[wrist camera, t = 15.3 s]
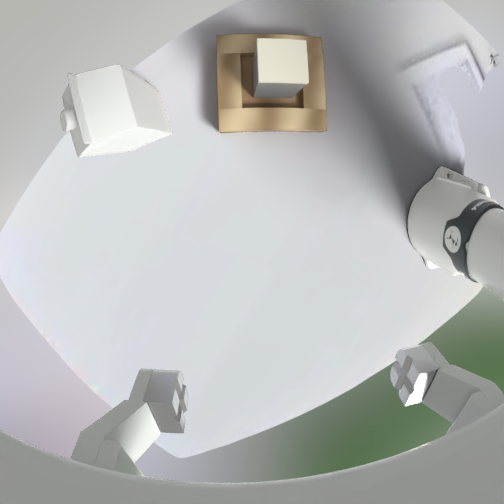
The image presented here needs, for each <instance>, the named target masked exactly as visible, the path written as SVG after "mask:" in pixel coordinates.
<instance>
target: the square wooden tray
mask: <svg viewBox="0 0 504 504" xmlns="http://www.w3.org/2000/svg"><path fill="white" fill-rule="evenodd" d="M257 38H271V39H294V40H306V45H307V58H308V74H309V83H308V84H307V85H306V86H305V87H303V88H302V89H301V90H300V91H299V92H298V93H297V94H295V95H294V96H293V97H292V98H253V73H252V63H253V57H254V52H255V47H256V41H257ZM217 82H218V115H219V132H220V133H230V132H257V131H300V132H324V131H327V123H326V96H325V78H324V64H323V51H322V40H321V38H320V37H310V36H299V35H282V34H232V35H217Z"/></svg>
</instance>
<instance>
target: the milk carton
mask: <svg viewBox="0 0 504 504" xmlns="http://www.w3.org/2000/svg"><path fill="white" fill-rule="evenodd" d="M68 80H69V85H68V87H67V89H66V91H65V92H64V94H63V97H62V98H63V103H64V107H65V110H63V111H62V112H61V116H60V121H61V126H62V129H63V131H64V132H67V131H70V132H71V136H72V139H73V143H74V146H75V150H76V153H77V156H78V158H79V157H86V156H94V155H103V154H113V153H124V152H130V151H133V150H135V149H137V148H139V147H142V146H144V145H146V144H149V143H151V142H153V141H156V140H158V139H161V138H163V137H166V136H168V135H171V134H172V129H171V126H170V123H169V120H168V116H167V113H166V110H165V107H164V104H163V100H162V97H161V94H160V91H159V90H158V89H156V88H155V87H153V86H152V85H150V84H149V83H147V82H146V81H144V80H143V79H141V78H140V77H138V76H137V75H135V74H134V73H132V72H131V71H129V70H127V69H126V68H124V67H123V66H121V65H120V64H117V65H112V66H108V67H103V68H99V69H95V70H91V71H87V72H83V73H79V74H76V75H74V74H71V73H68Z"/></svg>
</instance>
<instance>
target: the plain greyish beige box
mask: <svg viewBox="0 0 504 504" xmlns="http://www.w3.org/2000/svg"><path fill="white" fill-rule="evenodd" d="M252 73H253V98H292V97H293V96H294V95H295V94H297V93H298V92H299V91H300V90H301V89H302V88H303V87H305V86H306V85H307V84H308V83H309V74H308V58H307V45H306V40H294V39H271V38H257V41H256V47H255V52H254V57H253V63H252Z"/></svg>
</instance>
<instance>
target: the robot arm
mask: <svg viewBox="0 0 504 504" xmlns="http://www.w3.org/2000/svg"><path fill="white" fill-rule="evenodd" d="M447 174H448V177H447ZM408 234H409V238H410V241H411V243H412V245H413V247H414V248H415V249H416V251H417V252H419V253H420V254H421V255H422V256H423V258H424V261H425V264H426V266H427V267H428V268H430V269H435V268H437V267H439V268H441V269H443V270H444V271H446V272H448V273H450V274H451V275H454V276H456V275H458V274H462V275H463V276H464V277H466V278H467V279H470V280H471V281H473V282H479V283H480V284H482V285H483V286H484V287H486V288H487V289H488V290H490V291H491V292H492V293H493V294H495V295H496V296H497V297H499V298H500V299H501V300H503V301H504V209H503V208H502V207H501V206H500V205H499V204H498V202H497V201H496V200H494V199H492V198H490V195H489V190H488V188H487V186H485V185H483V184H480V183H478V182H476V181H473V180H472V179H469V178H468V177H466V176H463V175H461V174H459V173H457V172H455V171H453V170H450V169H448V168H446V167H443V166H441V167H439V168H438V169H437V171H436V173H435V174H434V176H433V178H432V179H431V180H430V181H429V182H428V183H426V184H425V185H424V186H423V187H422V188H421V189H420V190H419V191H418V193H417V194H416V196H415V198H414V200H413V202H412V204H411V207H410V211H409V215H408ZM395 358H396V360H397V361H396V362H395V363H394V365H393V366H392V369H391V381H392V384H393V386H394V387H395V388H397V389H398V390H400V391H399V397H400V398H401V400H402V402H403V404H404V405H405V406H408V405H411V404H415V403H418V402H421V401H422V403H424V404H425V405H427V406H428V407H429V408H431V409H432V410H434V411H435V412H437V413H438V414H440V415H441V416H443V417H444V418H446V419H447V420H449V421H450V422H452V423H453V424H452V426H451V427H450V428H449V430H448V431H447V435H445V436H443V437H441V438H439V439H436V440H434V441H432V442H429V443H427V444H424V445H422V446H420V447H417V448H414V449H412V450H409V451H406V452H403V453H401V454H398V455H395V456H392V457H389V458H386V459H383V460H379V461H376V462H373V463H369V464H365V465H361V466H357V467H353V468H350V469H345V470H340V471H336V472H331V473H326V474H320V475H315V476H309V477H302V478H295V479H286V480H278V481H265V482H247V483H205V482H204V483H203V482H187V481H175V480H165V479H158V478H151V477H144V475H143V473H142V472H141V471H140V470H139V468H138V467H137V466H136V465H135V463H134V462H135V461H136V460H137V459H138V458H139V457H140V456H141V455H142V454H143V453H144V452H145V451H146V450H147V449H148V447H149V446H150V445H151V444H152V443H153V442H154V441H155V440H156V439H157V438H158V436H159V435H160V434H161V432H165V433H184V428H185V421H186V419H185V416H184V412H185V411H186V410H187V406H188V394H187V389H186V386H185V385H183V379H184V378H183V375H182V372H181V371H172V370H156V369H154V370H152V369H141V370H140V371H139V372H138V375H137V378H136V380H135V383H134V386H133V389H132V391H131V394H130V397H129V400H124V401H123V402H121V403H120V404H119V405H117V406H116V407H115V408H113V409H112V410H111V411H109V412H108V413H107V414H105V415H104V416H103V417H102V418H100V419H98V420H97V421H96V422H94V423H93V424H92V425H90V426H89V427H88V428H86V429H85V430H83V431H82V432H81V433H80V436H79V438H78V440H77V443H76V446H75V448H74V451H73V453H72V456H71V459H69V458H66V457H63V456H60V455H57V454H54V453H51V452H49V451H46V450H44V449H41V448H39V447H36V446H34V445H31V444H29V443H27V442H24V441H22V440H20V439H18V438H16V437H13V436H12V435H10V434H8V433H6V432H4V431H1V430H0V504H504V394H503V393H502V392H501V391H500V389H499V388H498V387H497V386H496V384H495V383H494V382H492V381H489V380H487V379H485V378H482V377H480V376H478V375H475V374H473V373H471V372H468V371H466V370H464V369H462V368H460V367H457V366H455V365H449V363H448V362H447V361H446V359H445V358H444V357H443V356H442V355H441V354H440V352H439V351H438V350H437V348H436V347H435V346H434V345H433V344H432V343H430V342H428V343H425V344H420V345H416V346H412V347H408V348H404V349H400V350H399V351H398V352H397V354H396V357H395Z"/></svg>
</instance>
